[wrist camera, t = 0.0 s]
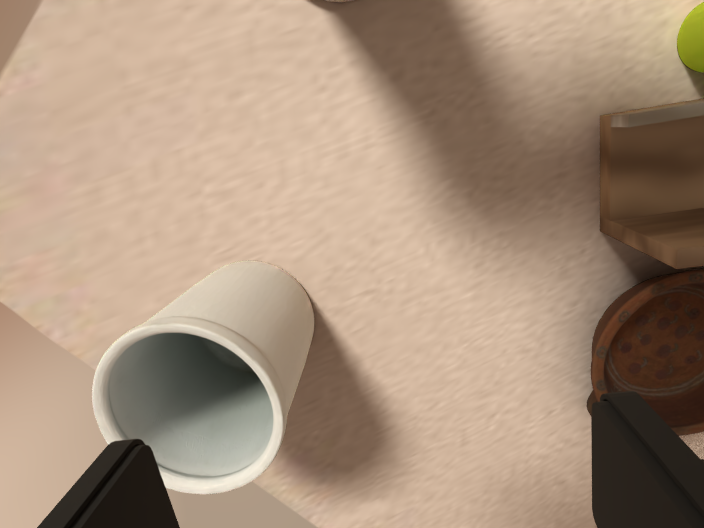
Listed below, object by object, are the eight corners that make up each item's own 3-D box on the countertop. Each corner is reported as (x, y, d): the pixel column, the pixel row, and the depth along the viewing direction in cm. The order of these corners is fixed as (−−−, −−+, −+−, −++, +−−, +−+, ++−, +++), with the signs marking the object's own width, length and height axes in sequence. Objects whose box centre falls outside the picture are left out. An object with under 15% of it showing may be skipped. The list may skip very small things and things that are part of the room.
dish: (524, 366, 49) (539, 392, 44) (677, 204, 43) (714, 214, 38) (642, 445, 51) (668, 479, 46) (805, 302, 45) (855, 323, 40)
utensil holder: (186, 365, 52) (92, 480, 35) (189, 244, 47) (82, 309, 31) (310, 385, 51) (275, 510, 35) (325, 264, 47) (293, 342, 30)
